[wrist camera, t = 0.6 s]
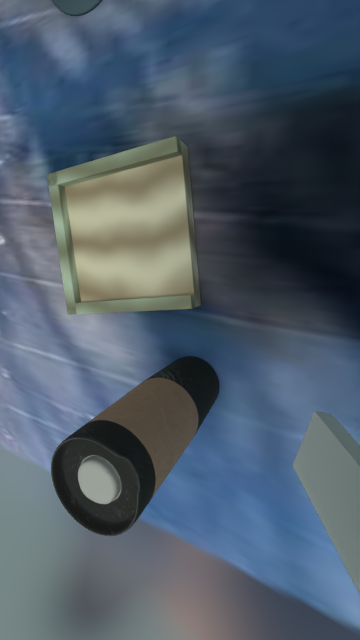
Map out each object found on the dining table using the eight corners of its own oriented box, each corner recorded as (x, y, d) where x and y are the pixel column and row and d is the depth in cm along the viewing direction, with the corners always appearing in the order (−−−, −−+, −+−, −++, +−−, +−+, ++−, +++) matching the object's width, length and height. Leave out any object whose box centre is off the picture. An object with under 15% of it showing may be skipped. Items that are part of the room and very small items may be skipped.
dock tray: (65, 180, 41) (46, 174, 38) (187, 146, 34) (176, 135, 31) (83, 311, 44) (68, 314, 41) (200, 305, 36) (191, 308, 34)
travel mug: (160, 396, 41) (43, 502, 23) (173, 345, 39) (55, 417, 21) (212, 420, 39) (127, 559, 20) (229, 367, 36) (150, 469, 18)
